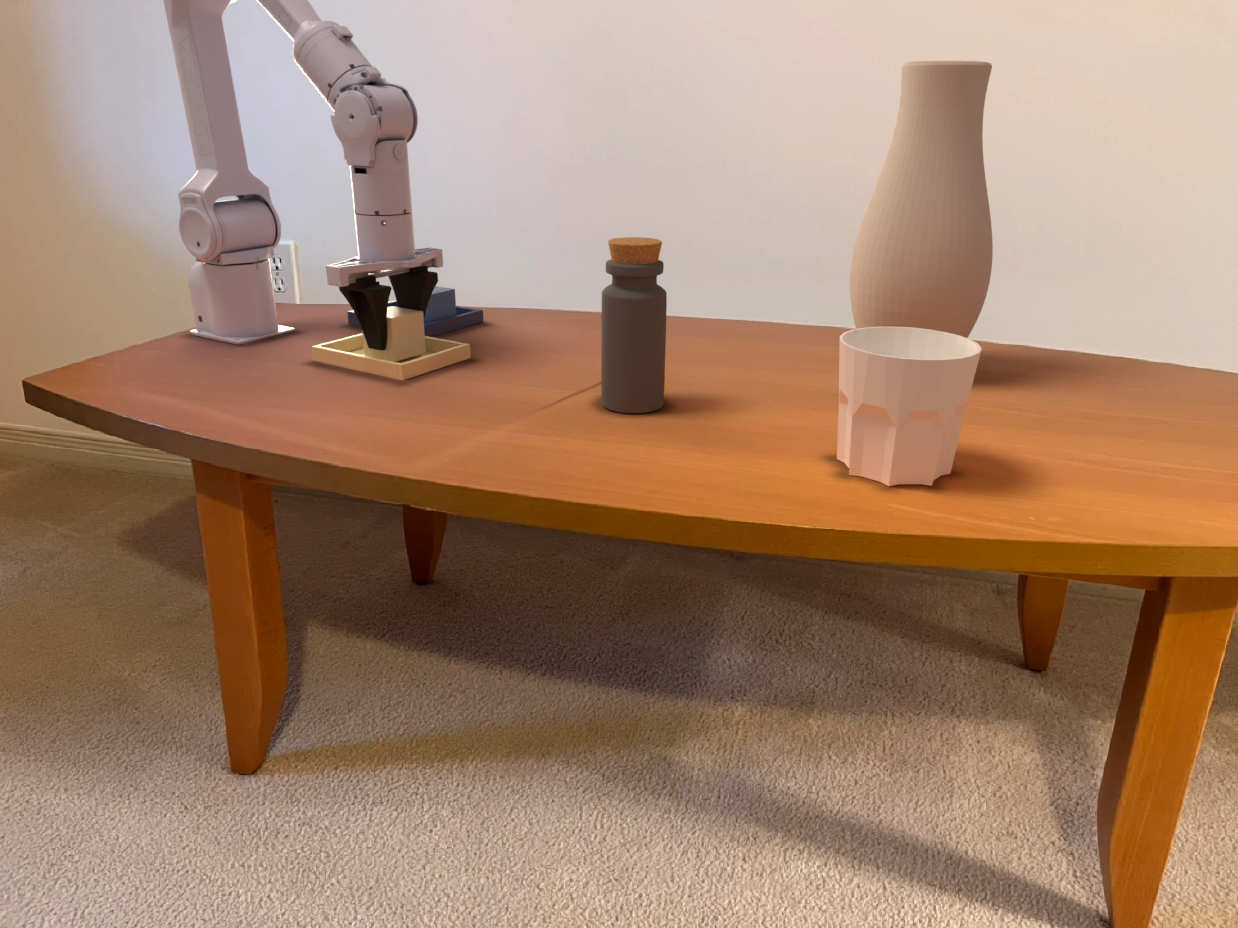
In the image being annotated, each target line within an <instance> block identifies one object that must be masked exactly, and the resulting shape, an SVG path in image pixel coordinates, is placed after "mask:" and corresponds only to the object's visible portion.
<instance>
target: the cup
mask: <svg viewBox="0 0 1238 928" xmlns="http://www.w3.org/2000/svg"><path fill="white" fill-rule="evenodd" d="M982 349H983V348H982V347H981V345H980V344H979V343H978V342H976V341H975V340H973V339H971V338H969V337H968V338H965V337H962V336H959V335H955V334H951V333H947V332H942V331H936V330H930V329H921V328H911V327H867V328H859V329H856V328H855V329H850V330H846V331H844V332H843V333H841V334H840V335H839V355H838V356H839V358H838V359H839V361H838V363H839V364H838V408H837V409H838V410H837V411H838V412H837V415H838V416H837V445H836V460H838V461H840V462H842V463H844V464H845V465H846V467H847V468H848V476H855V477H862V478H866V479H869V480H872V481H876V482H879V483H881V484H883V485H885V486H887V487H893V486H897V485H923V486H930V487H932V486H933V484H934V481H935V480H936V479H938V478H939V477H941V476H946V475H950V474H951V473H952V469H953V466H954V465H953V464H954V462H955V461H954V460H955V456H956V452H957V447H958V444H959V440H960V435H961V432H962V428H963V425H964V424H963V423H964V419H965V414H966V411H967V407H968V404H969V399H970V395H971V393H972V392H971V391H972V387H973V384H974V380H975V376H976V372H977V368H978V364H979V361H980V356H981V353H982Z"/></svg>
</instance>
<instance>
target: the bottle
mask: <svg viewBox="0 0 1238 928" xmlns="http://www.w3.org/2000/svg"><path fill="white" fill-rule="evenodd" d="M607 243H608V248H609V253H610V259H608V260H606V261H605V272H606V273H607V274H608V275H611V283H610V284H608V285H607V286H606V287H604V288H603V290H602V292H601V314H600V315H601V325H600V326H601V333H600V335H601V339H600V342H601V343H600V345H601V346H600V347H601V349H600V350H601V351H600V352H601V353H600V354H601V355H600V356H601V358H600V361H601V363H600V364H601V365H600V366H601V367H600V369H601V370H600V374H601V375H600V377H601V378H600V379H601V381H600V383H601V384H600V385H601V389H600V390H601V391H600V392H601V405H602V407H604V408H605V409H606V410H609V411H612V412H616V413H622V414H645V413H651V412H656V411H658V410H660V409H661V408H662V407H663V406H664V403H665V402H664V400H665V398H664V397H665V377H666V376H665V375H666V347H667V346H666V345H667V344H666V343H667V310H668V309H667V306H668V305H667V303H668V302H667V300H668V299H667V297H668V295H667V290H666V289H665V288H663V286H661V285H659V284H658V281H657V280H658V276H660V275H662V274H663V273H664V268H665V267H664V266H665V265H664V261H662V260H660V259H659V258H660V253H661V249H662V246H663V245H662V244H663V241H662V240H661V239H658V238H652V237H641V236H640V237H639V236H628V237H626V236H625V237H616V238H611V239H609V240H608V241H607Z"/></svg>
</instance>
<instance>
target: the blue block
mask: <svg viewBox="0 0 1238 928" xmlns="http://www.w3.org/2000/svg"><path fill="white" fill-rule="evenodd" d="M456 306H457V301H456V290H455V288H451V287H444V286H438V285H436V286H435V288H434V290H433V292H432V294H431V297H430V299H429V302H428V305H427V309H426V313H425V317H424V324H427V323H431V322H434V321H438V320H442V319H445V318H449V317H453V316H456Z"/></svg>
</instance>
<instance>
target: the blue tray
mask: <svg viewBox="0 0 1238 928" xmlns="http://www.w3.org/2000/svg"><path fill="white" fill-rule="evenodd" d="M391 306H394V307H398V305H397V301H396V299H395V300H389V301H388V307H391ZM347 321H348V322H347V324H348V325H353V326H359V327H361V326H360V323H359V321H358V319H357V317H356V315H355V313H354V311H353V309H351V310H347ZM481 323H484V309H480V308H473V307H468V306H467V307H466V306H460V305H456V316H453V317H449V318H445V319H442V320H438V321H434V322H431V323H427V324H424V334H425V336H428V337H437V336H440V335H444V334H447V333H450V332H454V331H457V330H460V329H464V328H468V327H472V326H474V325H478V324H481Z"/></svg>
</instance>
